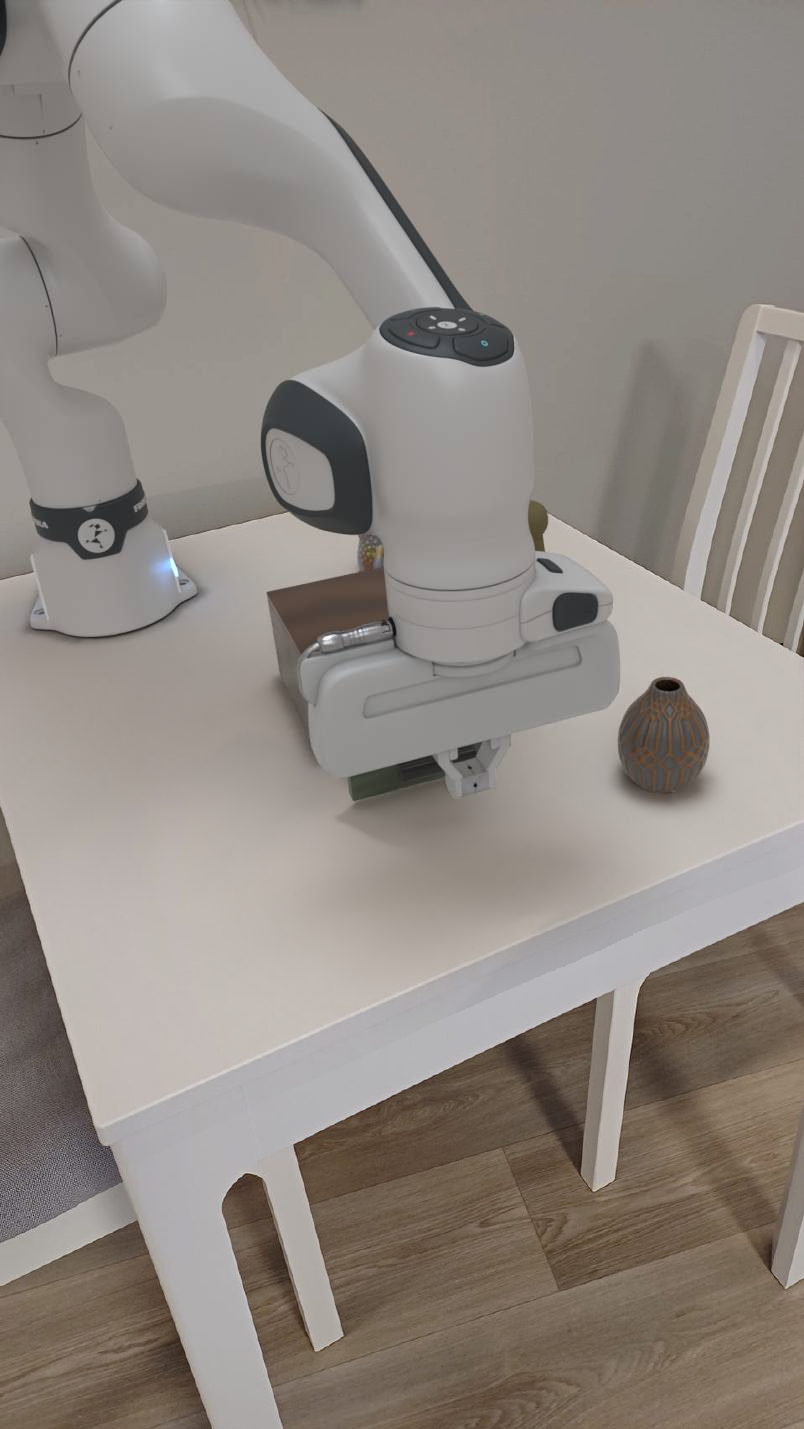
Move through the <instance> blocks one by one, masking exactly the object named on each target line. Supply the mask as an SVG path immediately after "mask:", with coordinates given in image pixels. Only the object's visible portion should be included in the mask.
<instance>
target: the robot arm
mask: <svg viewBox="0 0 804 1429" xmlns="http://www.w3.org/2000/svg"><path fill="white" fill-rule="evenodd" d="M86 125H87V127H88V130H89V131H90V132H91V134H92V136H93V138H94V140H95V141H96V143H97V145H98V146H99V148H100V150H101V151H102V152H103V154H104V156H105V157H106V159H107V160H108V161H109V163H110V164H111V165H112V166H113V168H114V169H115V171H116V172H118V174H119V175H120V176H121V177H122V178H123V180H125V181H126V182H127V183H128V184H129V185H130V186H131V187H132V188H133V189H134V190H135V191H137V193H139V194H141V195H142V196H143V197H145V198H147V199H149V200H151V201H152V202H154V203H156V204H158V205H160V206H162V207H165V208H167V209H169V210H172V211H175V212H178V213H181V214H184V215H188V216H192V217H196V218H204V219H211V220H219V221H225V222H231V223H234V224H235V223H236V224H240V225H246V226H250V227H254V228H257V229H258V228H259V229H262V230H266V231H268V232H271V233H275V234H278V235H280V236H284V237H286V238H289V239H291V240H293V241H296V242H297V243H300V244H302V245H303V246H305V247H306V248H308V249H310V250H311V251H313V252H314V253H315V254H316V255H318V256H319V257H320V258H321V259H322V260H323V261H324V262H325V263H327V265H328V266H329V267H330V268H331V269H332V271H333V272H334V273H335V275H336V276H337V278H338V279H339V281H340V282H341V284H342V285H343V286H344V288H345V290H346V291H347V292H348V294H349V295H350V297H351V298H352V300H353V301H354V303H355V304H356V305H357V307H358V308H359V310H360V311H361V313H362V314H363V316H364V317H365V319H366V320H367V321H368V323H369V324H370V326H371V327H372V329H373V331H372V333H371V335H370V337H369V339H368V340H367V341H366V342H365V343H363V345H361V346H360V347H358V348H357V349H355V350H353V351H351V352H350V353H348V354H346V355H344V356H342V357H340V358H337V359H335V360H332V361H330V362H327V363H325V364H322V365H321V364H320V365H319V366H316V367H313V368H309V369H307V370H305V371H302V372H299V373H298V374H296V375H293V376H292V377H291V378H289V379H286V380H283V381H282V382H280V383H279V384H278V385H277V386H276V388H274V391H273V392H272V394H271V396H270V397H269V399H268V401H267V403H266V407H265V409H264V413H263V417H262V422H261V428H260V452H261V460H262V465H263V466H262V467H263V470H264V474H265V477H266V480H267V483H268V485H269V489H270V491H271V492H272V495H273V497H274V498H275V500H276V502H277V503H278V504H279V505H280V506H281V507H282V508H283V509H285V511H287V512H288V513H290V514H291V515H292V516H293V517H295V518H296V519H298V520H299V521H301V522H303V523H305V524H306V525H308V526H311V527H312V528H315V529H317V530H320V531H324V532H328V533H332V534H338V535H347V536H358V535H360V534H364V533H370V534H373V535H375V536H377V537H378V538H379V539H380V540H381V542H382V544H383V546H384V561H383V564H384V575H385V586H386V596H387V606H388V617H389V619H386V620H381V621H377V622H373V623H369V624H365V625H361V626H358V627H356V628H353V629H350V630H347V631H341V632H340V631H334V632H329V633H326V634H323V635H321V636H319V637H318V639H317V641H318V642H317V643H314V644H313V645H311V646H309V647H308V648H307V649H306V650H305V651H304V652H303V653H302V655H301V656H300V658H299V660H298V665H297V674H298V680H299V686H300V691H301V694H302V696H303V697H304V698H305V699H306V701H308V721H309V735H310V737H309V743H310V746H311V747H310V748H311V750H312V752H313V755H314V757H315V759H316V761H317V763H318V766H319V767H320V768H321V770H322V771H324V772H325V773H327V774H328V775H330V776H331V777H333V778H334V779H335V780H336V779H337V780H342V779H347V777H351V776H354V775H358V774H362V773H366V772H369V771H373V770H377V769H381V768H384V767H388V766H392V765H396V764H399V763H403V762H407V761H411V760H414V759H418V758H422V757H426V756H429V755H432V756H433V757H434V759H435V760H436V762H437V763H438V765H439V766H440V767H441V768H442V769H443V770H444V771H445V777H444V778H445V784H446V788H447V791H448V793H449V794H450V796H452V798H453V799H454V800H457V799H461V798H464V797H468V796H472V795H474V794H478V793H482V792H484V791H489V790H494V789H496V786H497V784H496V782H497V781H496V769H498V768H499V766H500V764H501V763H502V761H503V759H504V757H505V755H506V754H507V752H508V750H509V748H510V747H511V745H512V744H511V743H512V742H511V741H512V739H511V737H512V736H511V735H512V734H517V733H519V732H523V731H528V730H531V729H535V728H538V727H539V728H540V727H542V726H547V725H550V724H553V723H557V722H561V721H564V720H569V719H572V718H577V717H579V716H584V715H588V714H591V713H596V712H599V711H603V710H606V709H608V708H609V706H611V705H612V703H613V701H614V700H615V698H616V697H617V696H618V694H619V692H620V687H621V652H620V642H619V641H620V640H619V636H618V632H617V630H616V627H615V626H614V625H613V623H612V622H611V621H610V620H608V619H609V618H610V616H611V615H612V612H613V608H614V596H613V592H612V590H610V589H609V588H608V587H607V585H605V583H604V582H603V581H601V579H599V578H598V577H597V576H596V575H594V574H593V573H592V572H591V571H590V570H588V569H587V568H585V567H584V566H583V565H581V564H580V563H579V562H577V561H575V560H573V559H572V558H570V557H568V556H566V555H565V554H562V553H558V552H550V551H545V552H541V551H535V546H534V541H533V538H532V535H531V532H530V529H529V524H528V509H529V503H530V500H532V496H533V493H534V489H535V483H536V481H535V480H536V461H535V460H536V458H535V457H536V456H535V454H536V452H535V450H536V449H535V427H534V413H533V412H534V410H533V402H532V393H531V385H530V381H529V376H528V370H527V366H526V362H525V359H524V355H523V352H522V349H521V346H520V344H519V342H518V339H517V337H516V335H515V334H514V332H513V331H512V330H511V329H510V328H509V327H508V326H507V325H505V324H504V323H502V322H500V321H499V320H497V319H496V318H494V317H492V316H490V315H488V314H484V313H482V312H479V311H476V310H474V309H473V308H472V307H471V306H470V304H469V303H468V301H466V300H465V299H464V297H463V295H462V294H461V293H460V292H459V290H458V288H457V287H456V286H455V284H454V283H453V282H452V280H451V279H450V277H449V276H448V274H447V273H446V271H445V270H444V268H443V266H442V264H440V262H439V261H438V260H437V258H436V256H435V255H434V253H433V252H432V251H431V249H430V248H429V246H428V244H427V243H426V242H425V240H424V239H423V237H422V236H421V234H420V232H419V231H418V230H417V229H416V226H415V225H414V224H413V222H412V221H411V219H410V218H409V216H408V215H407V213H406V212H405V211H404V209H403V208H402V206H401V205H400V203H399V202H398V200H397V199H396V197H395V196H394V195H393V193H392V191H391V190H390V188H389V186H388V185H387V184H386V183H385V181H384V180H383V178H382V177H381V175H380V174H379V172H378V171H377V170H376V168H375V167H374V165H373V163H371V161H370V160H369V158H368V157H367V155H366V154H365V153H364V152H363V150H362V149H361V148H360V146H359V145H358V143H357V142H356V141H355V140H354V139H353V137H352V136H351V135H350V134H349V133H348V132H347V131H346V130H345V129H344V128H343V127H342V125H340V124H339V123H338V122H337V121H336V120H334V119H333V118H332V117H330V116H329V115H328V114H327V113H325V111H323V110H322V109H321V108H319V107H317V106H315V104H314V103H312V102H311V101H310V100H309V99H308V98H307V97H305V96H304V95H303V94H302V93H301V92H300V91H299V90H298V89H297V87H296V86H294V84H292V83H291V82H290V81H289V80H288V79H287V77H285V76H284V74H283V73H282V72H281V71H280V69H279V68H277V66H276V65H275V64H274V63H273V61H272V60H271V59H270V58H269V57H268V56H267V54H266V53H265V52H264V50H262V48H261V47H260V46H259V44H258V43H257V41H256V40H255V38H253V36H252V35H251V34H250V31H248V29H247V27H246V26H245V24H244V23H243V21H242V19H241V18H240V16H239V14H238V12H237V10H236V9H235V6H234V5H233V3H232V1H231V0H0V227H1V228H3V229H4V230H7V231H10V232H13V233H15V234H19V235H17V236H12V237H3V238H0V421H1V422H2V424H3V426H4V427H5V429H6V431H7V432H8V435H9V437H10V439H11V440H12V441H11V442H12V444H13V447H14V449H15V451H16V454H17V456H18V460H19V463H20V465H21V467H22V470H23V474H24V477H25V480H26V483H27V486H28V489H29V493H30V496H31V497H30V499H29V501H28V503H29V508H30V517H31V520H32V522H33V523H34V527H35V530H36V533H37V534H38V535H39V538H38V542H37V544H36V545H35V547H34V548H33V550H32V553H31V554H30V556H29V558H30V565H31V568H32V570H33V576H34V578H35V582H36V586H37V590H38V597H37V599H36V602H35V604H34V606H33V609H32V611H31V614H30V616H29V623H30V628H32V629H34V630H35V629H36V630H46V631H47V630H48V631H49V630H50V631H56V632H59V633H62V634H65V635H69V636H72V637H73V636H74V637H84V638H97V637H107V636H114V635H119V634H125V633H128V632H132V631H135V630H138V629H141V628H144V627H147V626H149V625H151V624H154V623H156V622H157V621H159V620H161V619H163V618H165V617H166V616H167V615H169V614H170V613H171V612H172V611H174V609H176V607H177V606H178V605H180V604H181V603H182V602H185V601H187V600H189V599H191V598H193V597H194V596H196V595H197V594H198V588H197V585H196V583H195V582H194V581H193V580H192V579H191V578H190V577H189V576H188V575H187V574H186V573H185V572H183V570H182V569H180V568H179V567H178V566H177V565H176V563H175V561H174V556H173V553H172V552H173V551H172V548H171V545H170V540H169V535H168V533H167V530H166V529H165V528H163V527H161V525H160V524H159V523H157V522H155V521H154V520H152V519H151V518H150V517H149V508H148V504H147V495H146V492H145V490H144V488H143V484H142V481H141V480H140V479H139V478H138V477H137V476H136V471H135V467H134V466H135V465H134V461H133V457H132V452H131V449H130V444H129V440H128V435H127V432H126V428H125V422H124V419H123V417H122V414H121V413H120V412H119V410H118V409H117V408H116V407H115V406H114V405H113V404H112V403H111V402H110V401H109V400H107V399H106V398H104V397H103V396H100V395H98V394H95V393H93V392H90V391H87V390H83V389H80V388H77V387H73V386H68V385H64V384H61V383H58V382H56V381H55V380H54V377H53V376H52V374H51V372H50V369H49V364H48V362H49V361H50V360H52V359H54V358H57V357H58V358H59V357H63V356H68V355H72V354H73V355H74V354H78V353H84V352H89V351H93V350H99V349H104V348H105V349H106V348H109V347H114V346H118V345H121V344H123V343H126V342H127V341H130V340H134V339H135V338H137V337H140V336H142V335H144V334H146V333H149V332H151V331H153V330H155V329H157V327H158V326H159V325H160V323H161V321H162V319H163V316H164V314H165V311H166V308H167V301H168V282H167V277H166V273H165V270H164V267H163V265H162V262H161V260H160V258H159V257H158V255H157V253H156V252H155V249H154V248H153V247H152V246H151V245H150V243H149V242H148V241H147V240H146V239H145V238H144V237H143V236H142V235H141V234H139V233H138V232H137V231H135V230H133V229H131V228H129V227H127V226H125V225H123V224H122V223H121V222H119V221H118V220H117V219H115V218H114V217H113V216H112V215H111V214H110V213H109V212H108V211H107V210H106V208H105V207H104V205H103V204H102V202H101V201H100V199H99V197H98V194H97V193H96V191H95V187H94V184H93V180H92V179H93V178H92V174H91V168H90V167H91V166H90V160H89V153H88V152H89V151H88V144H87V134H86V133H87V132H86ZM318 649H320V651H318V652H314V651H316V650H318ZM309 735H308V736H309ZM482 741H483V742H482ZM478 742H482V744H481V746H480V749H479V751H478V753H477V755H476V758H472V759H469V760H466V761H462V762H457V763H453V762H452V761H451V760H455V759H457V758H458V748H460V747H463V746H467V745H471V744H475V743H478Z"/></svg>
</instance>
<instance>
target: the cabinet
mask: <svg viewBox="0 0 804 1429" xmlns="http://www.w3.org/2000/svg"><path fill="white" fill-rule="evenodd" d="M266 598H267V604H268V610H269V616H270V622H271V628H272V634H273V640H274V646H275V647H274V648H275V652H276V659H277V664H278V669H279V670H278V671H279V676H280V681H281V684H282V685H283V687H284V689H285V692H286V694H287V695H288V697H289V699H290V702H291V704H292V705H293V708H294V709H295V711H296V714H297V715H298V717H299V719H300V721H301V724H302V725H303V727H304V729H305V731H306V734H307V735H308V737H309V738H310V735H309V721H308V701H306V699H305V698H304V697H303V696H302V694H301V691H300V686H299V680H298V674H297V665H298V660H299V658H300V656H301V655H302V653H303V652H304V651H305V650H306V649H307V648H308V647H309V646H311V645H313V644H314V643H317V642H318V641H317V639H318V637H319V636H321V635H323V634H326V633H329V632H334V631H340V632H341V631H347V630H350V629H353V628H356V627H358V626H361V625H365V624H369V623H373V622H377V621H381V620H386V619H389V617H388V606H387V596H386V586H385V575H384V567H380V568H375V569H371V570H366V571H358V572H353V573H348V574H343V575H339V576H334V577H329V578H324V579H320V580H315V581H311V582H306V583H300V584H296V585H292V586H288V587H281V588H278V589H273V590H269V591H266ZM318 651H320V649H318V650H316V651H314V652H318Z"/></svg>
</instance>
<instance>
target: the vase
mask: <svg viewBox="0 0 804 1429" xmlns="http://www.w3.org/2000/svg"><path fill="white" fill-rule="evenodd" d="M617 733H618V734H617V752H618V757H619V761H620V763H621V767H622V768H623V770H624V772H625V774H626V775H627V776H628V778H629V779H630V780H631V781H632V782H634V784H637V786H639V788H640V787H641V788H642V789H644V790H646V791H649V792H652V793H657V794H670V793H674V792H677V791H680V790H682V789H684V788H685V787H688V786H689V785H690V784H692V783H693V782H695V780H696V779H698V777H699V775H700V774H701V773H702V771H703V769H704V768H705V766H706V762H707V760H708V757H709V756H708V755H709V751H710V742H711V740H710V729H709V726H708V722H707V719H706V716H705V713H704V712H703V710H702V709H701V707H700V706H699V705H698V703H696V701H695V700H694V699H693V698H692V696H690V694H689V693H688V691H687V689H686V687H685V684H684V682H682V681H681V680H680V679H678V678H677V677H672V676H661V677H657V678H654V680H652V681H651V682H650V685H649V686H648V687H647V689H646V690H645V691H644V692H643V693H642V694H641V695H639V696H638V697H637V698H636V699H635V700H634V701H633V702H632V703H631V704H630V705H629V707H628V708H627V709H626V711H625V713H624V714H623V717H622V719H621V722H620V725H619V728H618V732H617Z"/></svg>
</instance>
